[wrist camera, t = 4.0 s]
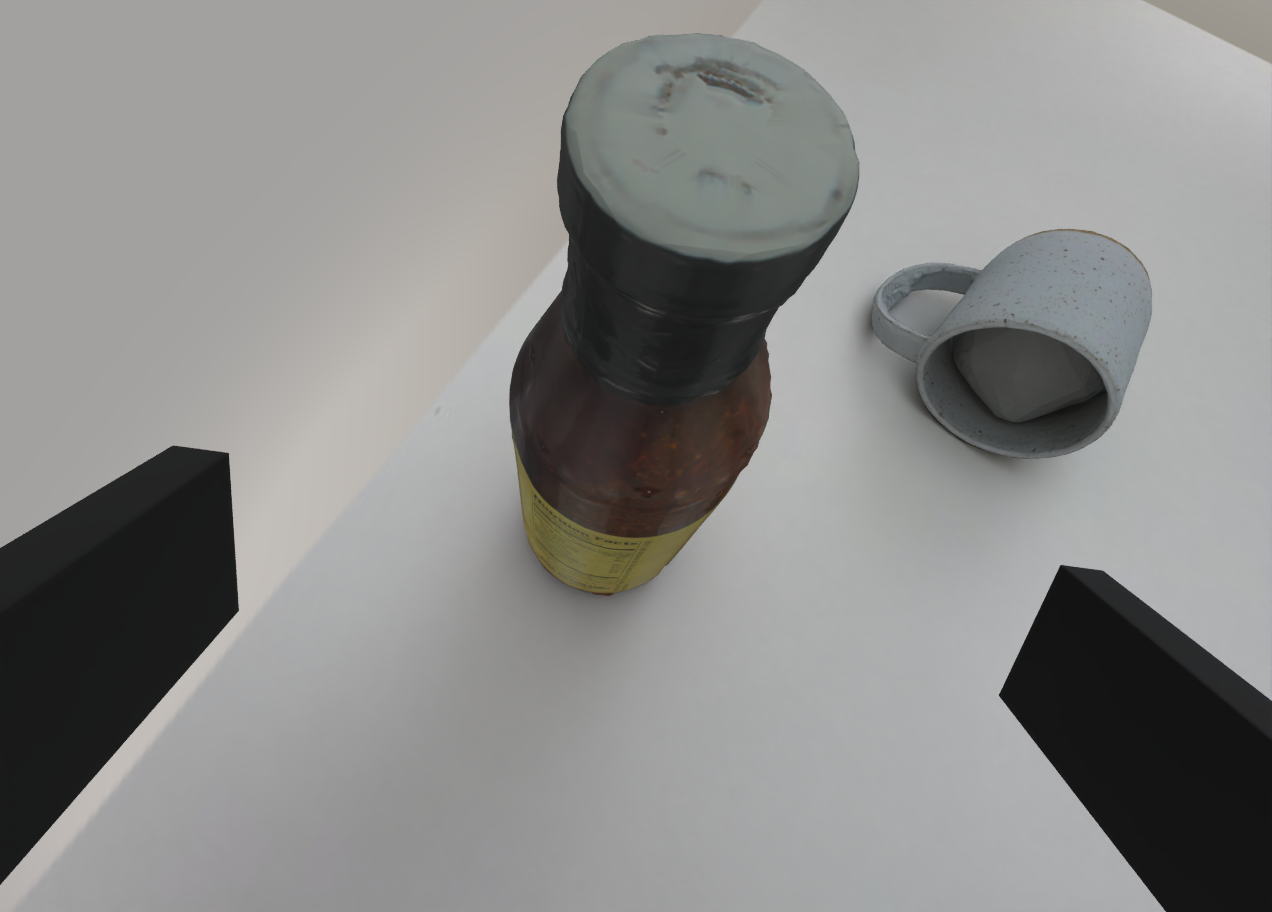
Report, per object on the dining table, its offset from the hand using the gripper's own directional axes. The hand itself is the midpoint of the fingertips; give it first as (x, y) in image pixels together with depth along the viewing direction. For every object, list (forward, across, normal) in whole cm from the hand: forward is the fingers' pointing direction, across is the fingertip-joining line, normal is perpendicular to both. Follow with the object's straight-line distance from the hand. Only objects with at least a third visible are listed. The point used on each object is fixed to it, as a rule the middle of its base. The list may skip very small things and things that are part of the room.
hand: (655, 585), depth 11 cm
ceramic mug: (+22, +17, 0) cm, 28 cm away
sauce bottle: (+15, 0, -7) cm, 17 cm away
